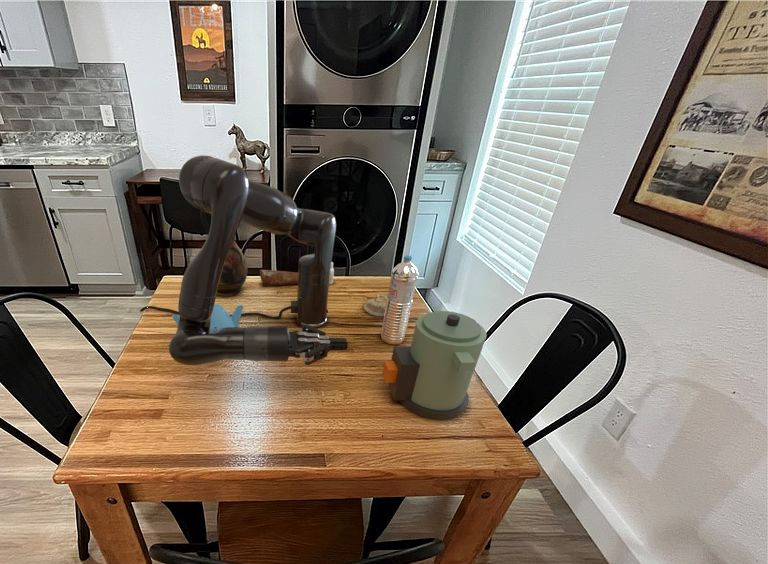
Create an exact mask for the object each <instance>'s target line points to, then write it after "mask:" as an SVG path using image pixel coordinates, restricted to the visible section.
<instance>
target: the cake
mask: <svg viewBox="0 0 768 564" xmlns="http://www.w3.org/2000/svg"><path fill="white" fill-rule="evenodd" d="M387 297H388V295H384V294H376V296H375V299H368V300H367V301H366V303H364V304H363V310H364V311H365V312H367V313H368V314H369V315H372V316H377V317H384V313H385V308H386V302H387Z"/></svg>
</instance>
